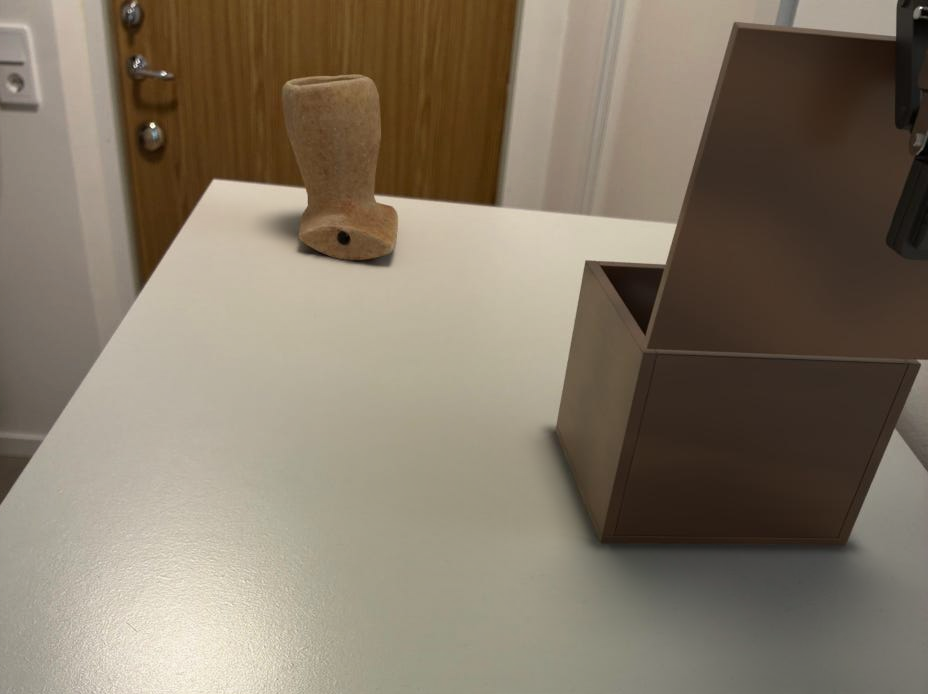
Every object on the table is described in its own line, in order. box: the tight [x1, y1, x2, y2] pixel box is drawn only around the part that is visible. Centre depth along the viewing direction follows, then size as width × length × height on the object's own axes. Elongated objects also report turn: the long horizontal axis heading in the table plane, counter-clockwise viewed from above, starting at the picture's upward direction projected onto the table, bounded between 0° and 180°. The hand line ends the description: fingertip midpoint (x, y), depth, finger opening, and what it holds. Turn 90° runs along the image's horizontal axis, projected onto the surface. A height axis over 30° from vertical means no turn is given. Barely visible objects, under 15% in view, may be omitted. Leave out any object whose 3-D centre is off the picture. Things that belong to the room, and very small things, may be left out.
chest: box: [554, 259, 922, 546], centre depth 65 cm, size 15×17×13 cm
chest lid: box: [644, 21, 928, 361], centre depth 49 cm, size 16×17×1 cm
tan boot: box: [281, 74, 399, 261], centre depth 97 cm, size 15×12×15 cm
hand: (912, 253), depth 44 cm, fingers closed
